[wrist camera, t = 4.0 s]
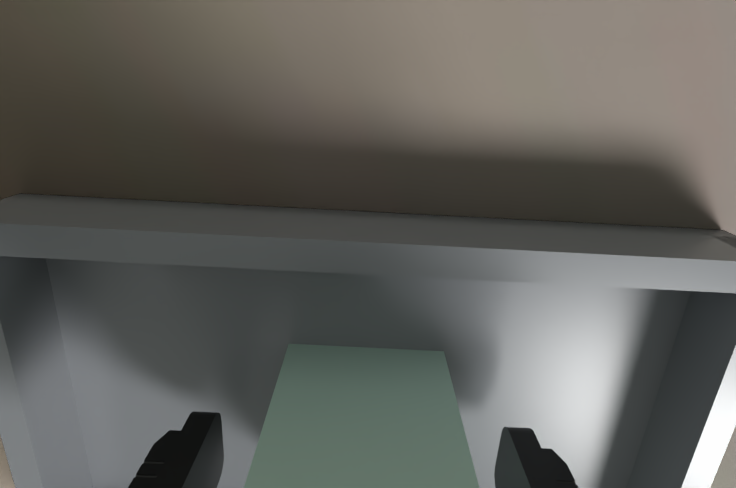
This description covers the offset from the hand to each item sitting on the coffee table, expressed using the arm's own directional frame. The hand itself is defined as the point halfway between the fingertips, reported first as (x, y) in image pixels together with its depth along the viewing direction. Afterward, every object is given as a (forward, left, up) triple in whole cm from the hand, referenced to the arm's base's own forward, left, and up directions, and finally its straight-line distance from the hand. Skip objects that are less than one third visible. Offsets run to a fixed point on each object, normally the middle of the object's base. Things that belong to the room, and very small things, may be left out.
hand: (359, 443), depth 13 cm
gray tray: (0, 0, -2) cm, 2 cm away
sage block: (0, 0, -1) cm, 1 cm away
